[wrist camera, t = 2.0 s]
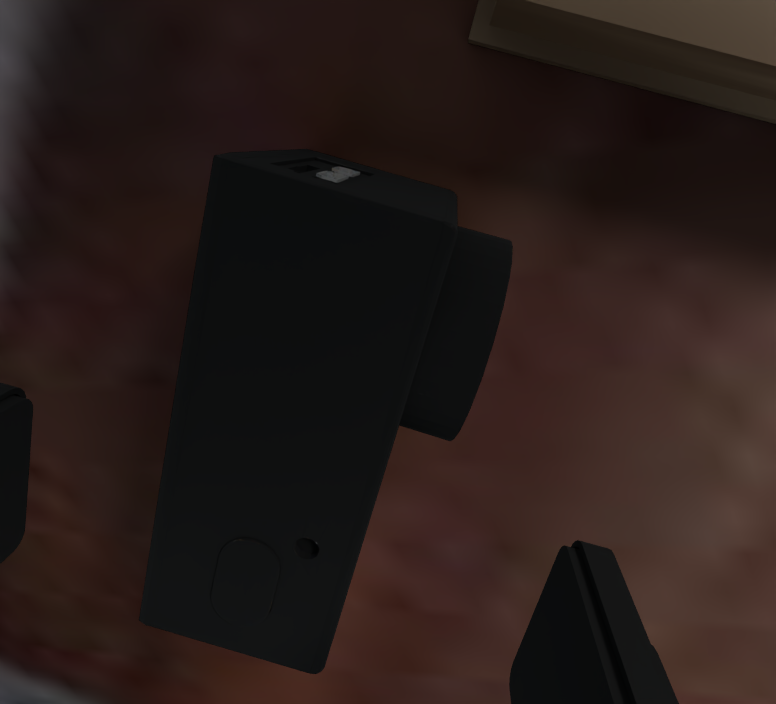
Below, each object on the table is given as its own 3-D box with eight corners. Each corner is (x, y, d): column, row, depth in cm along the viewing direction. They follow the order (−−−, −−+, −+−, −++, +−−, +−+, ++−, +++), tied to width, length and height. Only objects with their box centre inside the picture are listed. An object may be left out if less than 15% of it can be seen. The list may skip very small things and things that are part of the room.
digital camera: (398, 517, 20) (370, 701, 14) (239, 470, 20) (134, 630, 14) (501, 203, 17) (530, 246, 10) (307, 147, 17) (210, 153, 10)
